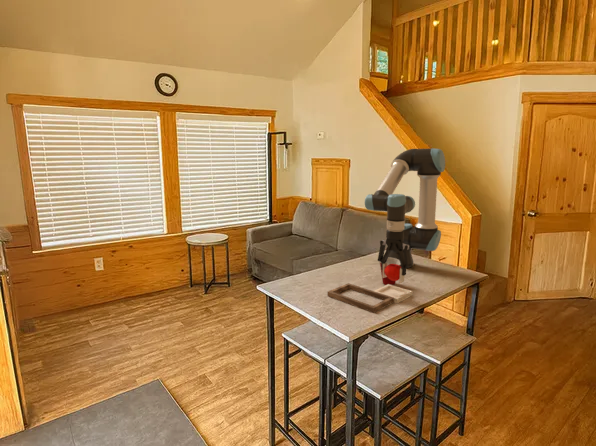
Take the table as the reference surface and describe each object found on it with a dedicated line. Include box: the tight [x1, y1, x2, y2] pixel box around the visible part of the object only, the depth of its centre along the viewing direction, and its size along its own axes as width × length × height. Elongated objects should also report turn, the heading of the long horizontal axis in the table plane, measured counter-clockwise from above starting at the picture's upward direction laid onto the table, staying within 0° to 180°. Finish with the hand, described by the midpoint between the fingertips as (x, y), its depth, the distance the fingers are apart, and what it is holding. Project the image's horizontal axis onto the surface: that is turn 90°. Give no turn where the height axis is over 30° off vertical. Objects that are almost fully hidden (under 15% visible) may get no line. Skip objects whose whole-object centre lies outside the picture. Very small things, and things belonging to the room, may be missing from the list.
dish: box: [373, 284, 413, 304], centre depth 169 cm, size 12×12×2 cm
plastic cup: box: [378, 257, 401, 286], centre depth 182 cm, size 11×11×12 cm
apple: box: [384, 264, 401, 282], centre depth 167 cm, size 8×8×7 cm
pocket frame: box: [327, 282, 395, 313], centre depth 165 cm, size 15×25×2 cm, turn 44°
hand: (393, 279), depth 167 cm, fingers closed on apple, 8 cm apart
